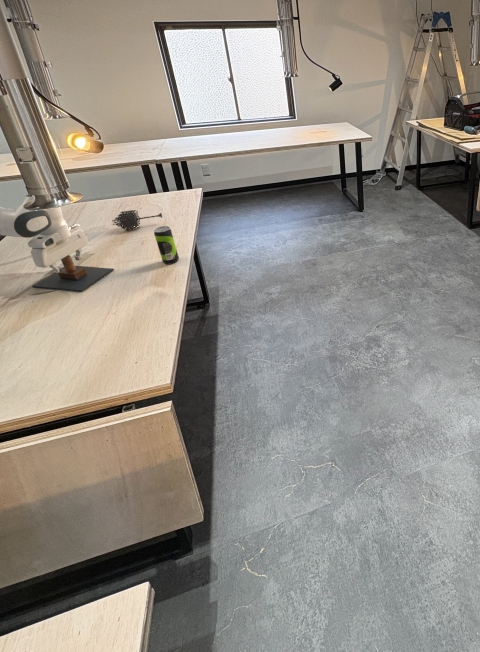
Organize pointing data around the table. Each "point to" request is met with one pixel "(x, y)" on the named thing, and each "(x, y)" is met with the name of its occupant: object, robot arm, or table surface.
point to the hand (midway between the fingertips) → (69, 265)
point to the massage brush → (130, 219)
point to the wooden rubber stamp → (71, 270)
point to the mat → (71, 285)
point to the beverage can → (166, 244)
